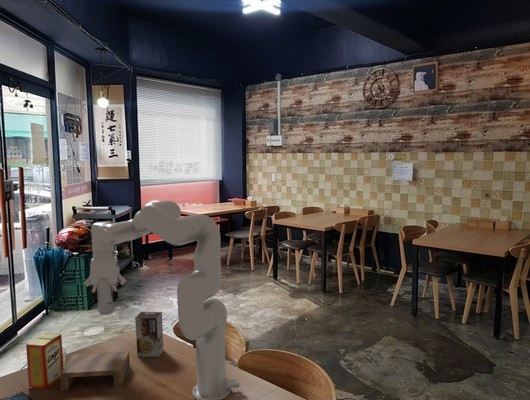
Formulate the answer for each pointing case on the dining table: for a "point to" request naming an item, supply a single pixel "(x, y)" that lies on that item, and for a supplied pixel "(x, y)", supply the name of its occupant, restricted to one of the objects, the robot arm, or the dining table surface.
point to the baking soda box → (44, 360)
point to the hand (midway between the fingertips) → (106, 300)
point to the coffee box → (149, 334)
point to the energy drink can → (105, 297)
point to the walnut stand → (95, 367)
